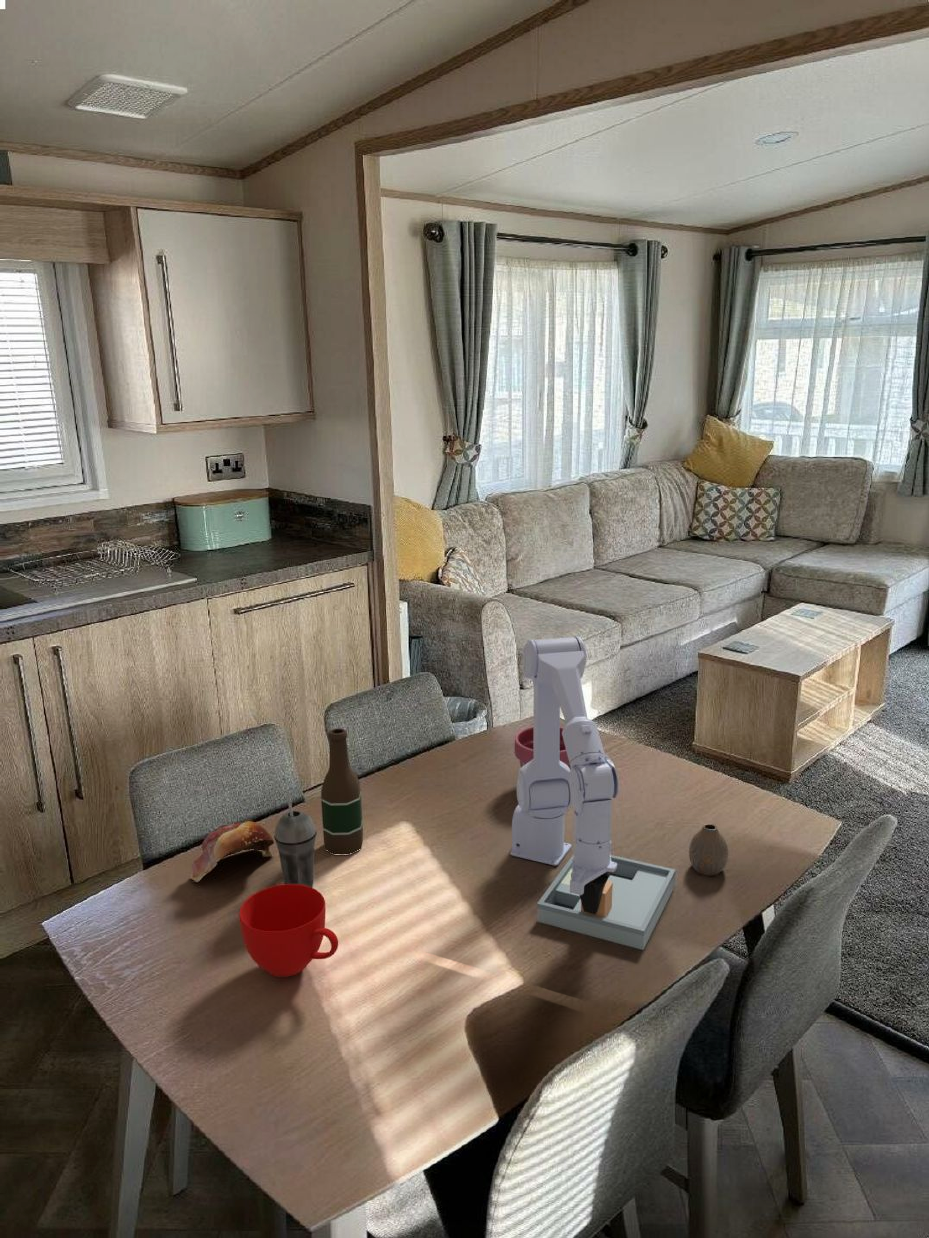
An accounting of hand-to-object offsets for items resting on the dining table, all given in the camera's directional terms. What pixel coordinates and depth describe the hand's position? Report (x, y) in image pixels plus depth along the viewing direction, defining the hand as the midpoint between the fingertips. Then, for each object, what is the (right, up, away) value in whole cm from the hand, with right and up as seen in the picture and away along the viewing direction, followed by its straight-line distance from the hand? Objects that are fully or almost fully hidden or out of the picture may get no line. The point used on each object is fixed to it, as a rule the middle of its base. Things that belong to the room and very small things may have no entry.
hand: (590, 911), depth 145 cm
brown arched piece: (-62, 0, +21) cm, 66 cm away
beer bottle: (-44, +3, +29) cm, 53 cm away
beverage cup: (-49, -1, +14) cm, 51 cm away
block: (+1, -1, +3) cm, 3 cm away
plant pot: (-2, +9, +50) cm, 51 cm away
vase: (+24, +1, +19) cm, 31 cm away
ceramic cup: (-46, -7, -6) cm, 47 cm away
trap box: (+4, -2, +9) cm, 10 cm away
